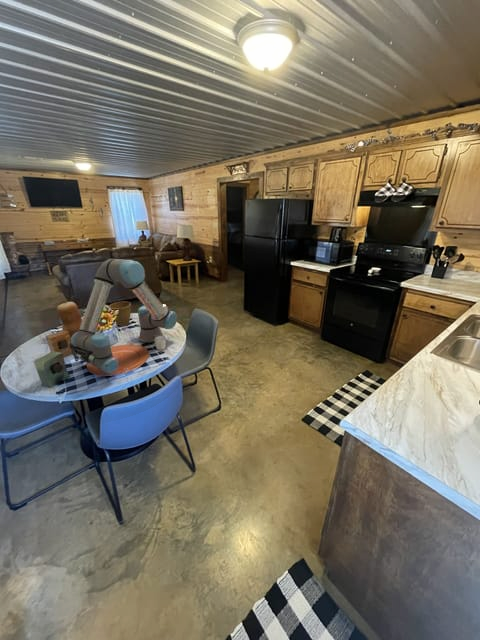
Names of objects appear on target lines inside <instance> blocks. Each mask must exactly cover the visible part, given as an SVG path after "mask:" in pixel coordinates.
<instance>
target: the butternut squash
mask: <svg viewBox="0 0 480 640" xmlns="http://www.w3.org/2000/svg"><path fill="white" fill-rule="evenodd" d="M56 313H57V315H58V317H59V319H60V321H61V323H62V325H61V326H62V327H61V331H62V330H65V331H67V332H69V334H70V337H72V335H73V334H74V333H76V332H78V331H79V329H80V326H81V323H82V320H83V319H82V316H81V313H80V309H79V306H78V305H77V303H75V302H74V301H67V302H63V303H61V304H59V305H57V306H56Z"/></svg>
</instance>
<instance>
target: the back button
mask: <svg viewBox="0 0 480 640" xmlns="http://www.w3.org/2000/svg"><path fill="white" fill-rule="evenodd" d="M58 346H59V347H61V348H63V349H65V348H67V347H68V343H67V342H65V341H60V342H59V344H58Z"/></svg>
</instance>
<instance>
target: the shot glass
mask: <svg viewBox="0 0 480 640" xmlns="http://www.w3.org/2000/svg"><path fill="white" fill-rule="evenodd" d="M154 340H155V342H154V344H155V348H156V350H158V351H162V350H165V349H166V343H167V341H166V336H165V335H163V336H157V337H155V338H154Z"/></svg>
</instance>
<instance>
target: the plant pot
mask: <svg viewBox="0 0 480 640" xmlns="http://www.w3.org/2000/svg"><path fill="white" fill-rule="evenodd" d="M109 307H110V308H111V309H112V310H119V315H118V317H117V320H116V321H115V322H116V324H117V325H118V327H126V326H128V325H130V321H131V313H132V304H131V302H129V301H117V302H114V303H110V304H109V305H108V308H109Z"/></svg>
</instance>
